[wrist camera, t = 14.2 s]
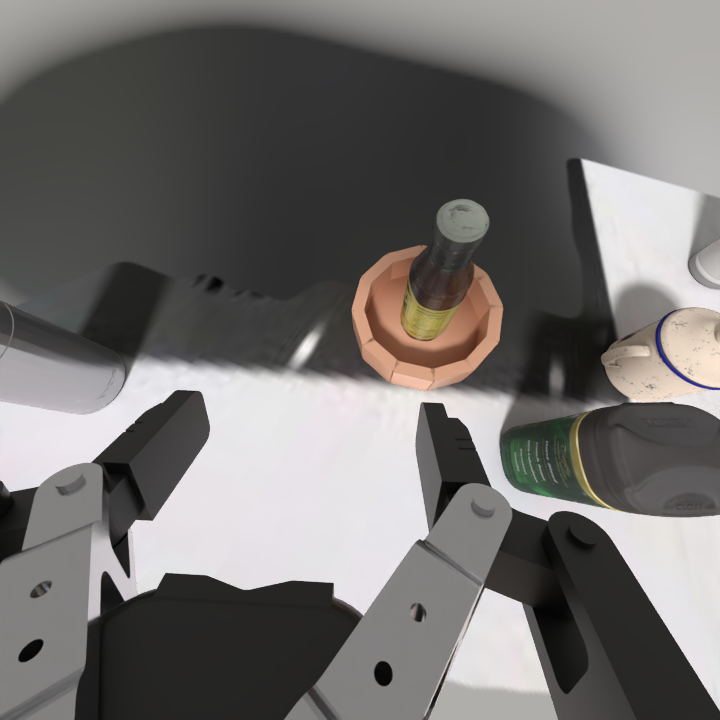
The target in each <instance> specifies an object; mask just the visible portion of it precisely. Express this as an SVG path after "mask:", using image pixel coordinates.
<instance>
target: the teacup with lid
mask: <svg viewBox="0 0 720 720" xmlns="http://www.w3.org/2000/svg"><path fill="white" fill-rule="evenodd" d="M601 361H602V364H603V365H604V367H605V371H606V374H607V376H608V378H609V380H610V381H611V383H612V384H613V385H614V386H615V387H616V389H618V390H619V391H620V392H621V393H623V394H624V395H626V396H628V397H629V398H632V399H634V400H638V401H643V402H655V401H659V400H664V399H669V398H673V397H678V396H683V395H687V394H692V393H697V392H701V391H706V390H720V313H718V312H715V311H713V310H709V309H705V308H696V307H692V308H683V309H678V310H675V311H672V312H670V313H668V314H667V315H666V316H664V317H663V318H662V319H661V320H659V321H657V322H655V323H653V324H651V325H649V326H647V327H645V328H643V329H641V330H638V331H636V332H634V333H632V334H630V335H628V336H626V337H624V338H622V339H620V340H618V341H616V342H615V343H613V344H612V345H611V346H610V347H609V348H608V350H607V352H605V353H604V354H603V355H602V356H601Z"/></svg>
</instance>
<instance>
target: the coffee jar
mask: <svg viewBox="0 0 720 720" xmlns="http://www.w3.org/2000/svg"><path fill="white" fill-rule="evenodd" d="M501 460H502V466H503V470H504V473H505V476H506V478H507V479H508V481H509V482H510V484H511V485H512V486H513V487H515V488H516V489H518V490H520V491H522V492H526V493H531V494H536V495H541V496H546V497H552V498H557V499H562V500H567V501H572V502H577V503H582V504H587V505H592V506H597V507H602V508H608V509H612V510H617V511H621V512H627V513H635V514H643V515H650V516H661V517H701V516H714V515H720V420H719V419H718V418H716V417H715V416H713V415H711V414H710V413H708V412H706V411H704V410H701V409H699V408H696V407H693V406H689V405H682V404H675V403H672V402H660V403H657V402H650V403H623V404H621V405H617V406H611V407H605V408H600V409H596V410H592V411H589V412H585V413H581V414H576V415H572V416H567V417H563V418H558V419H553V420H549V421H544V422H539V423H533V424H528V425H523V426H518V427H514V428H511V429H509V430H508V431H507V432H506V433H505V434H504V435H503V437H502V440H501Z"/></svg>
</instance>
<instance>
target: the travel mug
mask: <svg viewBox="0 0 720 720" xmlns="http://www.w3.org/2000/svg"><path fill="white" fill-rule="evenodd" d="M689 269H690V272H691V274H692V276H693V277H694V278H695V279H696V280H697V281H698V282H699V283H701V284H702V285H704V286H706V287H709V288H712V289H720V239H718V240H717V241H715V242H714V243H712V244H711V245H709V246H707V247H706V248H704V249H703V250H701V251H700V252H698V253H696V254H695V255H693V256H692V258H691V259H690V261H689Z"/></svg>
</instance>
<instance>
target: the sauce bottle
mask: <svg viewBox="0 0 720 720" xmlns="http://www.w3.org/2000/svg"><path fill="white" fill-rule="evenodd" d="M488 228H489V217H488V215H487V213H486V211H485V209H484V208H483V207H482V206H480V205H479V204H478V203H476V202H474V201H471V200H466V199H458V200H453V201H450V202H448V203H446V204H444V205H443V206H442V207H441V208H440V209H439V211H438V212H437V215H436V218H435V221H434V223H433V235H432V239H431V242H430V243H429V245H428V246H427V247H426V248H425V249H424V250H423V251H422V252H421V253H420V254H419V255H418V256H417V257H416V258H415V259H414V261H413V262H412V264H411V267H410V271H409V275H408V280H407V285H406V290H405V294H404V299H403V304H402V309H401V313H400V319H401V325H402V327H403V329H404V331H405V332H406V334H407V335H408V336H409V337H410V338H412V339H415V340H418V341H426V342H427V341H431V340H433V339H435V338H437V337H438V336H439V335H440V334H442V333H443V332H444V330H445V329H446V327H447V326H448V324H449V322H450V321H451V319H452V318H453V316H454V314H455V313H456V311H457V309H458V308H459V306H460V304H461V303H462V301H463V299H464V298H465V296H466V294H467V291H468V289H469V288H470V286H471V285H472V281H473V278H474V273H475V272H474V264H473V260H472V257H473V253H474V251H475V249H476V248H477V247H478V246H479V245H480V244H481V243H482V241H483V239H484V237H485V235H486V233H487V231H488Z"/></svg>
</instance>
